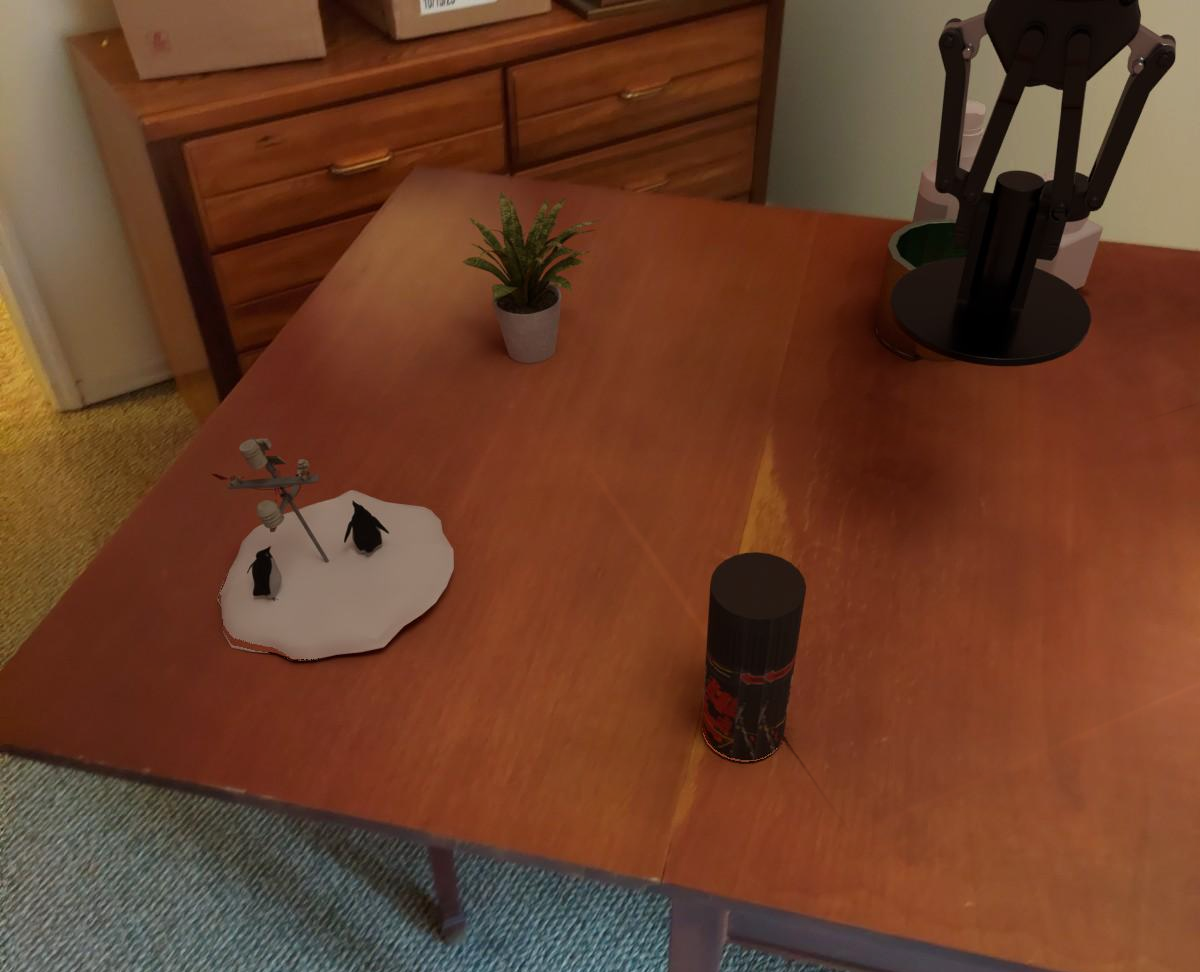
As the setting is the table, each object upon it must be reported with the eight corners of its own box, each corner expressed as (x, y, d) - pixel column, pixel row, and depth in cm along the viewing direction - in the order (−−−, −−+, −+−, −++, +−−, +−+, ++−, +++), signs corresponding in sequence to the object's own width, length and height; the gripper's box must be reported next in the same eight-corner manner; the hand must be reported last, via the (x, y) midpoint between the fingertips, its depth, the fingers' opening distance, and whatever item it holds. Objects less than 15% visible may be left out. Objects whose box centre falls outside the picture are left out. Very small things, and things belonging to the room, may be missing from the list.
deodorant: (794, 756, 75) (818, 612, 64) (712, 769, 75) (723, 626, 64) (771, 692, 79) (790, 546, 69) (693, 704, 79) (700, 559, 68)
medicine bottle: (1085, 286, 118) (1120, 181, 109) (1042, 307, 115) (1074, 200, 106) (1033, 261, 122) (1063, 157, 113) (990, 280, 119) (1018, 175, 111)
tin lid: (1129, 342, 73) (1182, 199, 66) (967, 395, 70) (1004, 250, 62) (1000, 255, 82) (1034, 121, 74) (850, 299, 78) (870, 162, 71)
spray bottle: (919, 247, 125) (950, 88, 112) (974, 263, 122) (1013, 101, 109) (894, 272, 121) (923, 111, 108) (951, 289, 118) (988, 125, 105)
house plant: (571, 406, 105) (561, 253, 93) (444, 383, 109) (419, 233, 97) (616, 330, 114) (612, 183, 103) (497, 312, 118) (481, 167, 106)
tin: (1022, 346, 110) (1047, 262, 103) (921, 378, 107) (940, 293, 100) (947, 290, 118) (966, 208, 111) (851, 318, 115) (864, 235, 108)
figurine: (447, 486, 95) (398, 332, 83) (465, 636, 83) (410, 481, 71) (228, 533, 95) (148, 385, 83) (213, 691, 83) (116, 544, 71)
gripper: (928, -87, 57) (866, 303, 74) (1257, -69, 53) (1111, 341, 70) (948, -122, 62) (885, 252, 79) (1251, -108, 57) (1116, 284, 74)
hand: (992, 293), depth 74 cm, fingers closed on tin lid, 3 cm apart
